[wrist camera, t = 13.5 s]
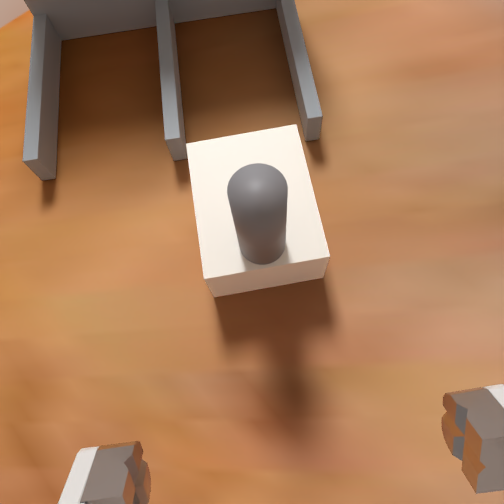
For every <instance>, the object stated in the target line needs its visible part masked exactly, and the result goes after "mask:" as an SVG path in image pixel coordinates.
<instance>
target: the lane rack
mask: <svg viewBox="0 0 504 504" xmlns="http://www.w3.org/2000/svg"><path fill="white" fill-rule="evenodd" d="M24 1H25V3H26V4H27V6H28V8H29V9H30V11H31V13H32V14H33V16H34V18H33V31H32V44H31V57H30V70H29V84H28V97H27V110H26V123H25V137H24V150H23V162H24V163H25V164H26V165H27V166H28V167H29V168H30V169H31V170H32V171H33V172H34V173H35V174H36V175H37V176H38V177H39V178H40V179H41V180H42V181H43V180H49V179H56V162H57V138H58V113H59V89H60V64H61V41H62V40H68V39H75V38H82V37H88V36H95V35H102V34H108V33H115V32H121V31H128V30H135V29H141V28H148V27H155V26H157V37H158V50H159V64H160V78H161V92H162V106H163V120H164V133H165V141H166V144H167V146H168V148H169V151H170V153H171V156H172V158H173V161H176V160H183V159H187V150H186V139H185V129H184V118H183V107H182V97H181V86H180V76H179V65H178V54H177V44H176V33H175V23H181V22H188V21H194V20H201V19H208V18H214V17H221V16H227V15H234V14H241V13H247V12H254V11H261V10H267V9H274V8H276V10H277V14H278V19H279V23H280V28H281V32H282V37H283V41H284V46H285V51H286V55H287V60H288V64H289V69H290V73H291V78H292V82H293V87H294V91H295V96H296V101H297V105H298V110H299V114H300V119H301V123H302V128H303V132H304V137H305V141H310V140H317V139H319V137H320V130H321V124H322V117H323V116H322V112H321V108H320V103H319V99H318V95H317V91H316V87H315V83H314V79H313V75H312V71H311V67H310V63H309V58H308V54H307V50H306V46H305V42H304V38H303V34H302V30H301V26H300V22H299V18H298V13H297V9H296V5H295V1H294V0H24Z"/></svg>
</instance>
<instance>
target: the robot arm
mask: <svg viewBox="0 0 504 504" xmlns="http://www.w3.org/2000/svg"><path fill="white" fill-rule="evenodd" d="M443 406H444V408H445V409H446V411H447V412H446V413H445V414H444V415H443V417H442V431H443V436H444V439H445V441H446V444H447V446H448V448H449V450H450V451H451V453H452V455H454V456H455V457H457V458H458V459H460V460H462V471H463V473H464V475H465V476H466V478H467V480H468V481H469V483H470V485H471V486H472V488H473V489H474V491H475V493H476V494H477V493H485V492H493V491H501V490H504V385H503V384H498V385H492V386H486V387H482V388H481V387H480V388H474V389H468V390H462V391H456V392H450V393H445V395H444V397H443ZM142 454H143V449H142V446H141V444H140V442H139V441H133V442H125V443H118V444H110V445H102V446H97V447H89V448H81V450H80V451H79V452H78V453H77V455H76V458H75V460H74V463H73V465H72V468H71V471H70V473H69V476H68V479H67V481H66V484H65V486H64V489H63V492H62V494H61V497H60V500H59V502H58V504H148V503H149V499H150V492H151V477H150V471H149V467H148V464H147V462H145V461H144V460H142Z"/></svg>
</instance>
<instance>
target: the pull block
mask: <svg viewBox="0 0 504 504" xmlns="http://www.w3.org/2000/svg"><path fill="white" fill-rule="evenodd" d="M186 147H187V155H188V162H189V170H190V177H191V185H192V192H193V200H194V207H195V215H196V222H197V230H198V237H199V245H200V252H201V260H202V268H203V275H204V280H205V282H206V284H207V285H208V287H209V289H210V291H211V293H212V295H213V296H214V297H219V296H225V295H230V294H236V293H241V292H247V291H252V290H258V289H264V288H269V287H275V286H280V285H286V284H291V283H297V282H303V281H308V280H314V279H319V278H323V277H324V274H325V271H326V267H327V264H328V261H329V258H330V254H329V250H328V246H327V243H326V239H325V235H324V231H323V227H322V223H321V219H320V215H319V211H318V207H317V203H316V199H315V195H314V191H313V188H312V184H311V180H310V176H309V172H308V168H307V164H306V160H305V156H304V152H303V148H302V144H301V140H300V137H299V133H298V129H297V125H296V124H294V125H289V126H283V127H277V128H272V129H266V130H260V131H255V132H249V133H243V134H238V135H232V136H226V137H221V138H215V139H210V140H204V141H198V142H193V143H187V144H186Z"/></svg>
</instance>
